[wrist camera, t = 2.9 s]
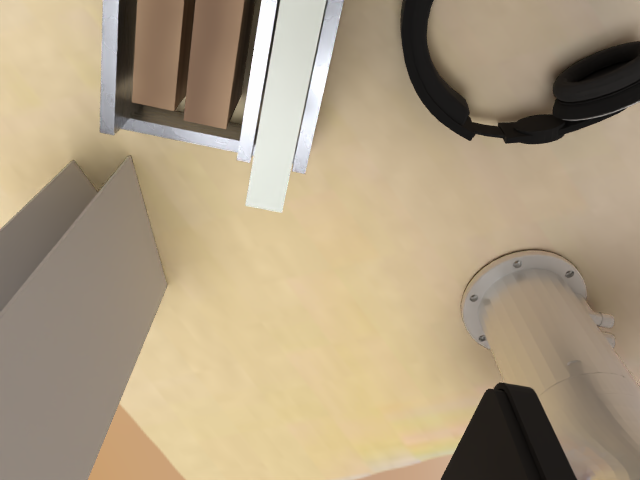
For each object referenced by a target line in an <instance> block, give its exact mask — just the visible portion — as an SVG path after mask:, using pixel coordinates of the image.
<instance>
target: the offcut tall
mask: <svg viewBox="0 0 640 480" xmlns="http://www.w3.org/2000/svg"><path fill="white" fill-rule="evenodd" d="M254 6H255V0H196V1H195V11H194V21H193V31H192V41H191V51H190V61H189V71H188V81H187V91H186V101H185V111H184V121H188V122H193V123H197V124H202V125H207V126H212V127H217V128H221V129H226V128H227V126H228V124H229V122H230V119H231V117H232V115H233V113H234V110H235V108H236V106H237V104H238V101H239V99H240V97H241V93H242V86H243V80H244V73H245V66H246V60H247V53H248V46H249V40H250V33H251V26H252V20H253V13H254Z"/></svg>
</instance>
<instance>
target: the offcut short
mask: <svg viewBox="0 0 640 480" xmlns="http://www.w3.org/2000/svg"><path fill="white" fill-rule="evenodd" d="M195 1H196V0H137V16H136V35H135V54H134V73H133V92H132V102H133V103H138V104H142V105H147V106H152V107H157V108H161V109H166V110H171V111H175V109H176V108H177V107H178V105H179V104H180V103H181V101H182V100H183V99H184V98H185V96H186V91H187V81H188V71H189V61H190V51H191V41H192V31H193V21H194V11H195Z"/></svg>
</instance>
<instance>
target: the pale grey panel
mask: <svg viewBox="0 0 640 480" xmlns="http://www.w3.org/2000/svg"><path fill="white" fill-rule="evenodd" d="M325 5H326V0H280V6H279V12H278V18H277V24H276V29H275V35H274V41H273V47H272V53H271V59H270V64H269V70H268V76H267V82H266V88H265V94H264V99H263V105H262V111H261V117H260V123H259V129H258V134H257V140H256V146H255V152H254V158H253V164H252V170H251V175H250V181H249V187H248V193H247V199H246V205H245V206H250V207H255V208H260V209H265V210H270V211H275V212H281V213H282V210H283V205H284V200H285V195H286V191H287V186H288V181H289V176H290V172H291V167H292V162H293V157H294V153H295V148H296V143H297V138H298V133H299V129H300V124H301V119H302V114H303V110H304V105H305V100H306V95H307V90H308V86H309V81H310V76H311V71H312V67H313V62H314V57H315V52H316V48H317V43H318V38H319V33H320V28H321V24H322V19H323V14H324V9H325Z"/></svg>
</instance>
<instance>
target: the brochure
mask: <svg viewBox="0 0 640 480" xmlns="http://www.w3.org/2000/svg"><path fill="white" fill-rule="evenodd" d="M166 288H167V282H166V278H165V275H164V271H163V268H162V264H161V261H160V257H159V254H158V250H157V246H156V243H155V239H154V236H153V232H152V229H151V225H150V222H149V218H148V214H147V211H146V207H145V204H144V200H143V197H142V193H141V190H140V186H139V182H138V179H137V175H136V172H135V168H134V165H133V161H132V158H131V156H127V158H126V159H125V160H124V161H123V163H122V164H121V165H120V166H119V168H118V169H117V170H116V171H115V172H114V174H113V175H112V176H111V177H110V179H109V180H108V181H107V182H106V183H105V185H104V186H103V187H102V188H101V190H100V191H99V192H97V191H96V189H95V188H94V187H93V185H92V184H91V183H90V181H89V180H88V179H87V177H86V176H85V175H84V173H83V172H82V171H81V169H80V168H79V167H78V165H77V164H76V163H75V161H74V160H73V161H71V162H70V163H69V164H68V165H67V166H66V167H64V168H63V169H62V170H61V171H60V172H59V173H58V174H57V175H56V176H55V177H54V178H53V179H52V180H51V181H50V182H49V183H48V184H47V185H46V186H45V187H44V188H43V189H42V190H41V191H40V192H39V193H37V194H36V195H35V196H34V197H33V198H32V199H31V200H30V201H29V202H28V203H27V204H26V205H25V206H24V207H23V208H22V209H21V210H20V211H19V212H18V213H17V214H16V215H15V216H14V217H13V218H12V219H10V220H9V221H8V222H7V223H6V224H5V225H4V226H3V227H2V228H1V229H0V480H88V477H89V475H90V473H91V470H92V468H93V465H94V463H95V460H96V458H97V456H98V453H99V451H100V448H101V446H102V443H103V441H104V439H105V436H106V434H107V431H108V429H109V426H110V424H111V422H112V419H113V417H114V414H115V412H116V409H117V407H118V405H119V402H120V400H121V397H122V395H123V392H124V390H125V388H126V385H127V383H128V380H129V378H130V375H131V373H132V371H133V368H134V366H135V363H136V361H137V358H138V356H139V354H140V351H141V349H142V346H143V344H144V341H145V339H146V337H147V334H148V332H149V329H150V327H151V324H152V322H153V320H154V317H155V315H156V312H157V310H158V307H159V305H160V303H161V300H162V298H163V295H164V293H165V290H166Z"/></svg>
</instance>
